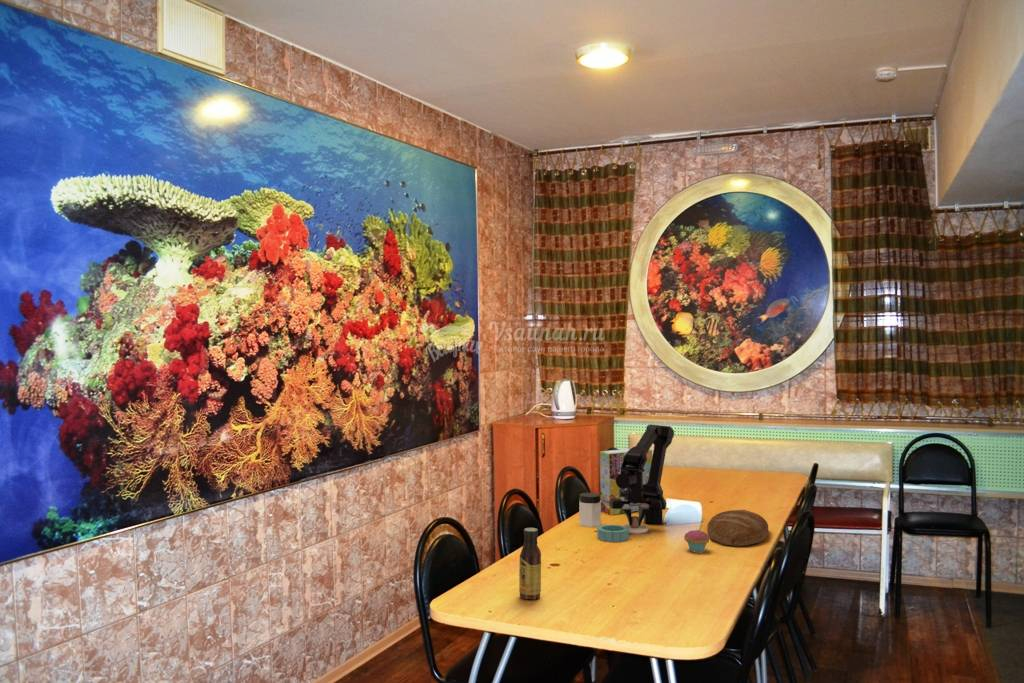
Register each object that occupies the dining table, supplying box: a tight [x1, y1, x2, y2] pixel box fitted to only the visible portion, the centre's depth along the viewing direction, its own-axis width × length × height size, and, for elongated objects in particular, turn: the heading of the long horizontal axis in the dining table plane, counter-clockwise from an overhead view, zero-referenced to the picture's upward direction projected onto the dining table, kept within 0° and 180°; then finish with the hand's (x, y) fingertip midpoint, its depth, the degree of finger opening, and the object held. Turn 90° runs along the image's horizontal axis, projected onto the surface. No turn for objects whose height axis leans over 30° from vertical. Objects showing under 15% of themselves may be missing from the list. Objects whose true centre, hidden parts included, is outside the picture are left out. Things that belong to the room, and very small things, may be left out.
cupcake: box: [683, 517, 711, 553], centre depth 296 cm, size 9×8×12 cm
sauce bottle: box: [518, 527, 542, 600], centre depth 245 cm, size 6×6×20 cm
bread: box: [706, 509, 769, 547], centre depth 319 cm, size 22×37×8 cm, turn 160°
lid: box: [623, 515, 649, 535], centre depth 323 cm, size 10×10×5 cm
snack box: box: [599, 448, 653, 515], centre depth 359 cm, size 22×9×26 cm, turn 115°
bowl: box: [596, 524, 630, 543], centre depth 312 cm, size 11×11×4 cm
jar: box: [578, 492, 602, 528], centre depth 333 cm, size 9×8×12 cm
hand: (634, 525), depth 323 cm, fingers open, 3 cm apart
